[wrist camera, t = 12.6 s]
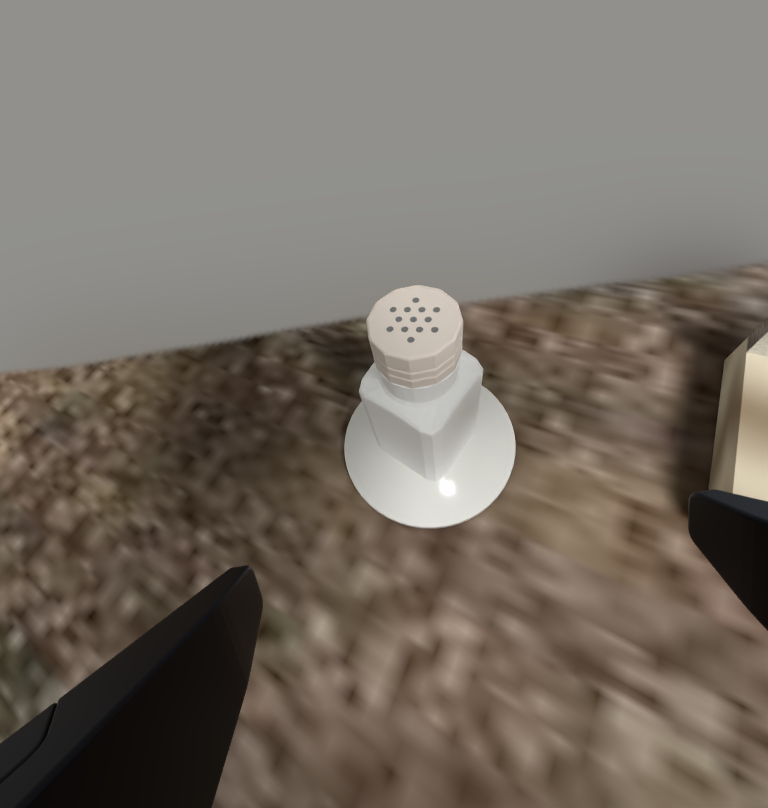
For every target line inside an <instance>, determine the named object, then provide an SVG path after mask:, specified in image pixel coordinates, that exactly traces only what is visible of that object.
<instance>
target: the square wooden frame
mask: <svg viewBox="0 0 768 808" xmlns="http://www.w3.org/2000/svg"><path fill="white" fill-rule="evenodd" d="M710 489H716V490H721V491H725V492H729V493H734V494H738V495H742V496H747V497H751V498H755V499H760V500H764V501H768V318H767V319H766V320H765V321H764V322H763V323H762V324H761V325H760V326H759V327H758V328H757V329H756V330H755V331H754V332H753V333H751V334H750V335H749V336H748V337H747V338H746V339H745V340H744V341H743V342H742V343H741V344H740V345H739V346H738V347H737V348H736V349H735V350H734V351H733V352H732V353H731V354H730V355H729V356H728V357H727V358H726V359H725V361H724V369H723V377H722V385H721V393H720V401H719V409H718V417H717V425H716V433H715V441H714V449H713V457H712V465H711V473H710V481H709V489H708V490H710Z"/></svg>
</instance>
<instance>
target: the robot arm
mask: <svg viewBox="0 0 768 808" xmlns="http://www.w3.org/2000/svg"><path fill="white" fill-rule="evenodd" d="M688 529H689V534H690V536H691V538H692V540H693V542H694V543H695V545H696V546H697V547H698V548H699V550H700V551H701V552H702V553H703V554H704V556H705V557H706V558H707V559H708V561H709V562H710V563H711V564H712V566H713V567H714V568H715V569H716V571H717V572H718V573H719V574H720V576H721V577H722V578H723V579H724V581H725V582H726V583H727V584H728V586H729V587H730V588H731V589H732V590H733V592H734V593H735V594H736V595H737V597H738V598H739V599H740V600H741V602H742V603H743V604H744V605H745V606H746V607H747V609H748V610H749V611H750V612H751V613H752V614H753V615H754V616H755V618H756V619H757V620H758V621H759V622H760V623H761V624H762V625H763V626H764V627H765V628H766V629H767V630H768V501H764V500H760V499H755V498H751V497H747V496H742V495H738V494H734V493H729V492H725V491H721V490H716V489H710V490H704V491H698V492H694V493H692V494H691V495H690V497H689V507H688ZM262 609H263V600H262V595H261V592H260V589H259V586H258V583H257V580H256V577H255V574H254V571H253V569H252V568H251V567H250V566H248V565H246V566H240V567H234V568H230V569H229V570H227V571H226V572H225V573H223V574H222V575H221V576H219V577H218V578H217V579H216V580H214V581H213V582H212V583H210V584H209V585H208V586H206V587H205V588H204V589H202V590H201V591H200V592H199V593H197V594H196V595H195V596H193V597H192V598H191V599H189V600H188V601H187V602H185V603H184V604H183V605H182V606H180V607H179V608H178V609H176V610H175V611H174V612H172V613H171V614H170V615H168V616H167V617H166V618H165V619H163V620H162V621H161V622H159V623H158V624H157V625H155V626H154V627H153V628H151V629H150V630H149V631H148V632H146V633H145V634H144V635H142V636H141V637H140V638H138V639H137V640H136V641H134V642H133V643H132V644H131V645H129V646H128V647H127V648H125V649H124V650H123V651H121V652H120V653H119V654H117V655H116V656H115V657H114V658H112V659H111V660H110V661H108V662H107V663H106V664H104V665H103V666H102V667H100V668H99V669H98V670H97V671H95V672H94V673H93V674H91V675H90V676H89V677H87V678H86V679H85V680H83V681H82V682H81V683H80V684H78V685H77V686H76V687H74V688H73V689H72V690H70V691H69V692H68V693H67V694H65V695H64V696H63V697H61V698H60V699H59V700H58V703H57V704H56V703H54V704H52V705H51V706H49V707H48V708H47V709H45V710H44V711H43V712H41V713H40V714H39V715H38V716H36V717H35V718H34V719H32V720H31V721H30V722H28V723H27V724H26V725H24V726H23V727H22V728H20V729H19V730H18V731H16V732H15V733H14V734H12V735H11V736H10V737H8V738H7V739H6V740H4V741H3V742H2V743H0V808H212V804H213V801H214V798H215V794H216V791H217V787H218V784H219V781H220V777H221V774H222V771H223V767H224V764H225V761H226V757H227V754H228V750H229V747H230V744H231V740H232V737H233V734H234V730H235V727H236V723H237V720H238V717H239V713H240V710H241V707H242V703H243V700H244V696H245V693H246V689H247V685H248V681H249V676H250V672H251V667H252V661H253V656H254V651H255V646H256V641H257V635H258V630H259V625H260V620H261V615H262Z"/></svg>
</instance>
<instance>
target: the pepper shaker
mask: <svg viewBox="0 0 768 808" xmlns="http://www.w3.org/2000/svg"><path fill="white" fill-rule="evenodd" d="M366 323H367V330H368V338H369V342H370V346H371V350H372V352H373V357H374V361H375V362H374V363H373V364H372V366H371V367H370V369H369V370H368V371H367V373H366V374H365V376H364V377H363V378H362V380H361V385H360V389H359V394H360V397H361V400H362V402H363V405H364V408H365V410H366V413H367V415H368V418H369V421H370V423H371V426H372V429H373V431H374V434H375V437H376V439H377V442H378V444H379V446H380V447H381V449H382V450H383V451H385V452H386V453H388V454H389V455H391V456H392V457H394V458H395V459H397V460H398V461H400V462H401V463H403V464H404V465H406V466H407V467H409V468H410V469H412V470H413V471H415V472H416V473H418V474H419V475H421V476H422V477H424V478H425V479H427V480H431V481H435V482H436V481H438V480H440V479H441V478H443V477H444V476H445V475H446V473H447V472H448V471H449V469H450V468H451V466H452V465H453V464H454V462H455V461H456V459H457V458H458V456H459V455H460V454H461V452H462V451H463V449H464V448H465V447H466V445H467V444H468V442H469V441H470V440H471V438H472V437H473V435H474V434H475V429H476V423H477V415H478V407H479V399H480V392H481V384H482V376H483V368H482V366H481V365H480V363H479V362H478V360H477V359H476V358H475V357H473V356H472V355H470V354H468V353H467V352H465V351H464V350H462V338H463V337H462V335H463V319H462V316H461V313H460V309H459V306H458V303H457V302H456V301H455V300H454V299H452V298H451V297H450V296H449V295H447V294H446V293H445V292H443V291H442V290H441V289H437V288H431V287H426V286H421V285H415V286H409V287H404V288H399V289H395V290H393V291H392V292H390V293H389V294H387V295H386V296H384V297H383V298H381V299H380V300H378V301H377V302H376V303H375V305H374V307H373V309H372V311H371V312H370V314H369V316H368V318H367V320H366Z"/></svg>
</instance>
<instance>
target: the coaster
mask: <svg viewBox="0 0 768 808" xmlns="http://www.w3.org/2000/svg"><path fill="white" fill-rule="evenodd" d="M344 452H345V461H346V466H347V469H348V472H349V475H350V478H351V480H352V482H353V484H354V486H355V487H356V489H357V490H358V492H359V493H360V495H361V496H362V497H363V499H364V500H365V501H366V502H367V503H368V504H369V505H370V506H371V507H372V508H373V509H374V510H376V511H377V512H378V513H379V514H381V515H383V516H384V517H386V518H388V519H389V520H392V521H394V522H396V523H399V524H401V525H405V526H408V527H413V528H420V529H440V528H447V527H451V526H455V525H459V524H461V523H464V522H466V521H468V520H470V519H472V518H474V517H476V516H477V515H479V514H481V513H482V512H483V511H484V510H486V509H487V508H488V507H489V506H490V505H491V504H492V503H493V502H494V501H495V500H496V499H497V498H498V496H499V495H500V493H501V492H502V491H503V489H504V487H505V485H506V483H507V481H508V479H509V477H510V474H511V471H512V468H513V465H514V459H515V436H514V431H513V427H512V423H511V421H510V419H509V416H508V414H507V412H506V411H505V409H504V407H503V406H502V404H501V403H500V402H499V401H498V399H497V398H496V397H495V396H494V395H493V394H492V393H491V392H490V391H489V390H488V389H486V388H485V387H483V386H482V385H481V392H480V399H479V407H478V415H477V423H476V429H475V434H474V435H473V437H472V438H471V440H470V441H469V442H468V444H467V445H466V447H465V448H464V449H463V451H462V452H461V454H460V455H459V456H458V458H457V459H456V461H455V462H454V464H453V465H452V466H451V468H450V469H449V471H448V472H447V473H446V475H445V476H444V477H443V478H441V479H440V480H438V481H436V482H435V481H431V480H427V479H425V478H424V477H422V476H421V475H419V474H418V473H416V472H415V471H413V470H412V469H410V468H409V467H407V466H406V465H404V464H403V463H401V462H400V461H398V460H397V459H395V458H394V457H392V456H391V455H389V454H388V453H386V452H385V451H383V450H382V449H381V447H380V446H379V444H378V442H377V439H376V437H375V434H374V431H373V429H372V426H371V423H370V421H369V418H368V415H367V413H366V410H365V408H364V405H363V402H362V401H361V403H360V404H359V405H358V407H357V408H356V410H355V412H354V413H353V415H352V417H351V419H350V422H349V425H348V427H347V431H346V436H345V444H344Z"/></svg>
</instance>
